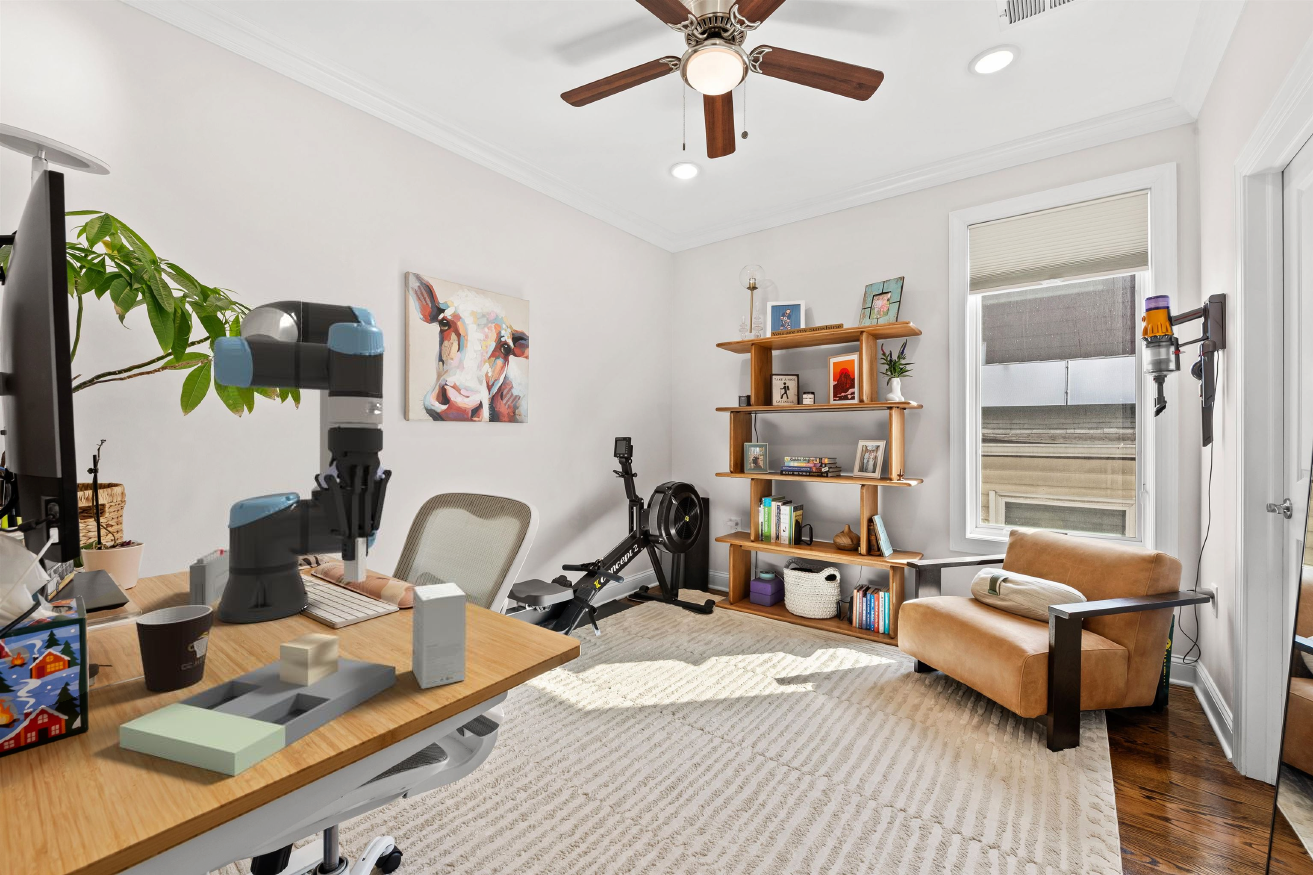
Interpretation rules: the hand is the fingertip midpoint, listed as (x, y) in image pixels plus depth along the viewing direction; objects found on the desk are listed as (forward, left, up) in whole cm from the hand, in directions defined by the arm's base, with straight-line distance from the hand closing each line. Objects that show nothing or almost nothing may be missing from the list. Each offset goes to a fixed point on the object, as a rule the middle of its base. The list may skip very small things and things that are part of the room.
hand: (354, 580), depth 89 cm
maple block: (+8, 0, -12) cm, 14 cm away
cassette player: (-20, -57, -14) cm, 62 cm away
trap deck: (+13, 0, -14) cm, 19 cm away
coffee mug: (+10, -21, -14) cm, 27 cm away
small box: (-3, +13, -14) cm, 19 cm away
